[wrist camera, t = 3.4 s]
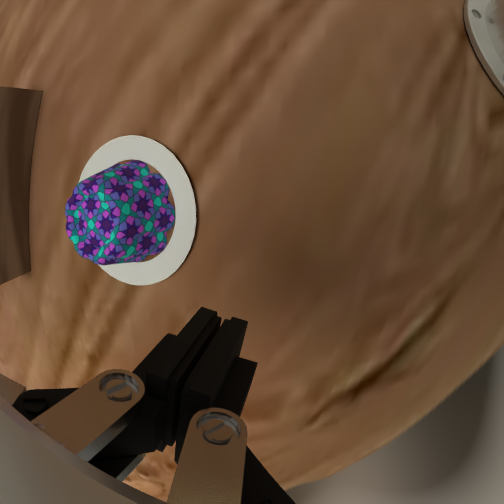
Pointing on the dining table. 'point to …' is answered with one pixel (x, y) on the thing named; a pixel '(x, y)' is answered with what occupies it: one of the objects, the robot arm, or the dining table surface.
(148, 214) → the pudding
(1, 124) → the rail
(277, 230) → the dining table surface
